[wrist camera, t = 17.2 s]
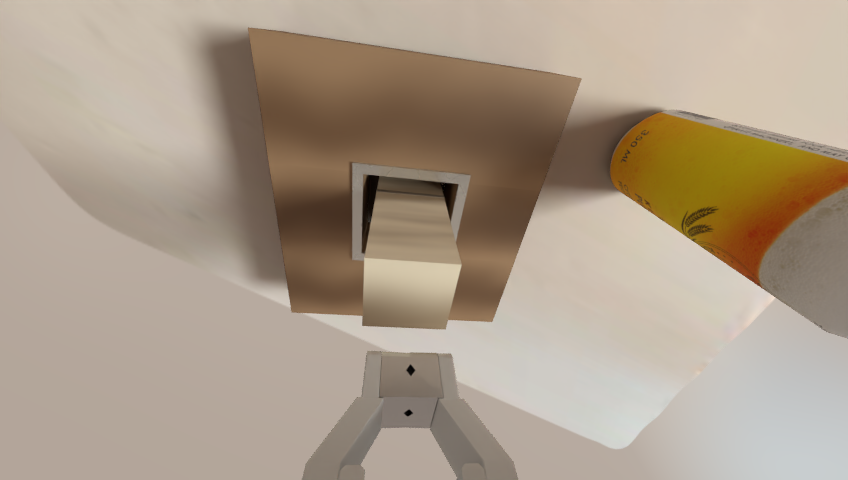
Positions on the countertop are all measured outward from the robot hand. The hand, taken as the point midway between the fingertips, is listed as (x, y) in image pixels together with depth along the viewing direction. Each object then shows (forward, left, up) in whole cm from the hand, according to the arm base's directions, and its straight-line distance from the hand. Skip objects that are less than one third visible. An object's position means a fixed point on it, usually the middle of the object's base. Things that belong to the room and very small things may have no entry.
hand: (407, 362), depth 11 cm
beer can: (-5, +17, -14) cm, 23 cm away
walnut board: (0, 0, -14) cm, 14 cm away
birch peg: (0, 0, -14) cm, 14 cm away
